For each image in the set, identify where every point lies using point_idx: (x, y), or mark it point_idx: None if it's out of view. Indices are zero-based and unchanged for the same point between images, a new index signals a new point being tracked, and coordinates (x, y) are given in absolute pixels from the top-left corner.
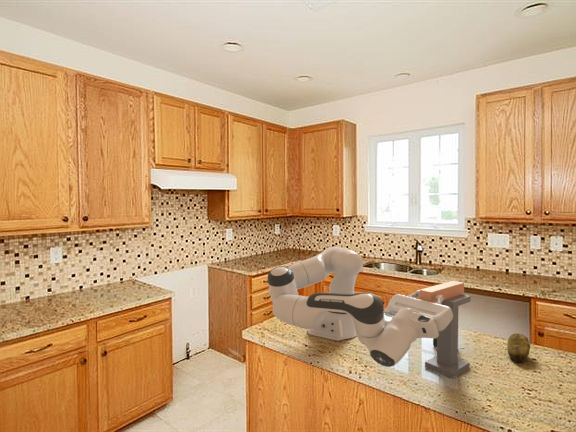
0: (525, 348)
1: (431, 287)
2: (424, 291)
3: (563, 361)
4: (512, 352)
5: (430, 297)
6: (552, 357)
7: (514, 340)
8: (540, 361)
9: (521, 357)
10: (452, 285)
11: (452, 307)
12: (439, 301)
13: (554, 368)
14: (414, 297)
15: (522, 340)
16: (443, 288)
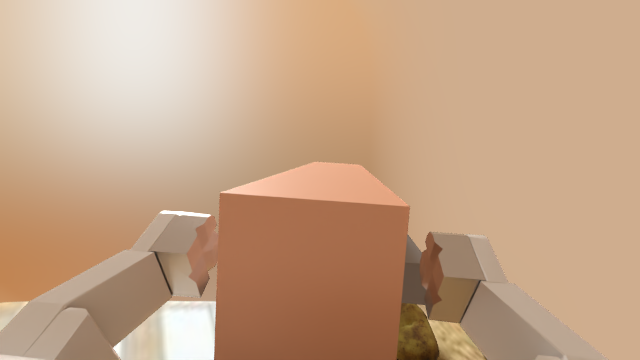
0: (429, 328)
1: (294, 175)
2: (299, 207)
3: (454, 324)
4: (410, 348)
5: (394, 286)
6: (434, 320)
7: (400, 312)
8: (437, 342)
9: (433, 357)
10: (359, 168)
11: (422, 302)
12: (564, 334)
13: (471, 354)
14: (133, 310)
15: (414, 307)
16: (371, 176)
